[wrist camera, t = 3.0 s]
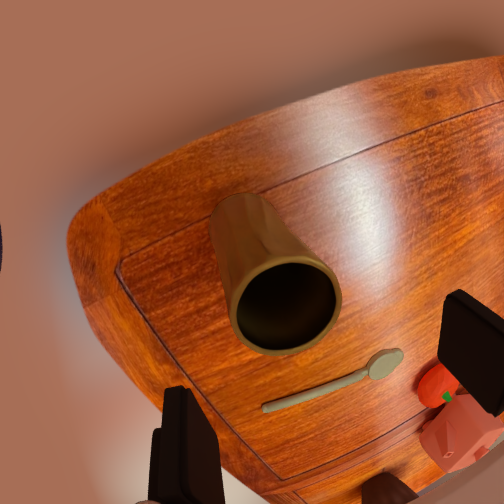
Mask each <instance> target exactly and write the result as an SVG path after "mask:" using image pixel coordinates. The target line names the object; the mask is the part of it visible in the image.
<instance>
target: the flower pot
mask: <svg viewBox="0 0 504 504" xmlns="http://www.w3.org/2000/svg"><path fill="white" fill-rule="evenodd" d="M418 497H419V496H418V495H417V494H416V493H415V492H414V491H413V490H411V489H410V488H409V487H408V486H407V485H406V484H405V483H403V482H402V481H401V480H399V479H398V478H397V477H395V476H394V475H393V474H391V473H389V472H387V473H382V474H380V475H377V476H375V477H373V478H371V479H370V480H368V481H367V482H366V483H364V485H363V486H362V504H407V503H409V502H411V501H413V500H415V499H417V498H418Z"/></svg>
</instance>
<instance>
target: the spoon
mask: <svg viewBox="0 0 504 504" xmlns="http://www.w3.org/2000/svg"><path fill="white" fill-rule="evenodd" d="M403 357H404V354H403V352H402V351H401V350H400V349H398V348H395V349H392V350H383V351H380V352H378V353H377V354H375V355H374V356H373V357H372V358H371V359H370V360H369V362H368V364H367V366H366V367H365V368H362V369H360V370H357V371H355V372H354V373H353V374H351V375H348V376H346V377H343V378H340V379H338V380H335V381H332V382H330V383H327V384H324V385H322V386H319V387H316V388H313V389H310V390H307V391H304V392H301V393H298V394H295V395H292V396H289V397H286V398H283V399H280V400H276V401H273V402H270V403H266V404H264V405H263V406H262V411H263V412H265V413H269V412H272V411H275V410H279V409H282V408H285V407H289V406H292V405H295V404H298V403H301V402H304V401H307V400H310V399H313V398H316V397H318V396H321V395H324V394H327V393H329V392H332V391H335V390H337V389H340V388H343V387H345V386H348V385H350V384H353V383H355V382H357V381H360V380H362V379H363V377H364V376H366V375H369V377H370V378H371V379H373V380H379V379H382V378H385V377H386V376H388V375H389V374H390V373H391V372H392V371H393V370H394V369H395V368H396V367H397V366H398V365H399V364H400V363H401V362H402V360H403Z"/></svg>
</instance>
